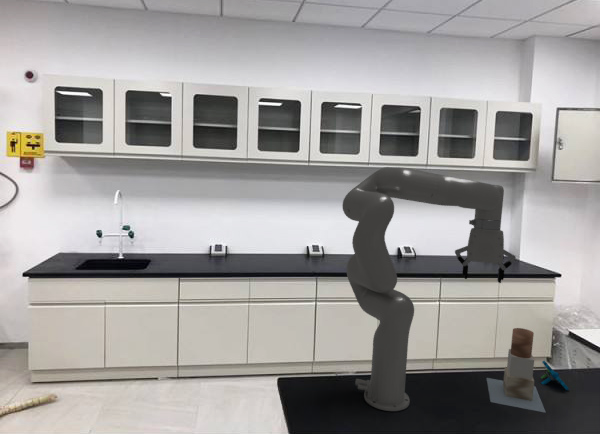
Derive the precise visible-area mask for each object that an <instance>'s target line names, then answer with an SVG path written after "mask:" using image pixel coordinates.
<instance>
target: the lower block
mask: <svg viewBox="0 0 600 434" xmlns="http://www.w3.org/2000/svg"><path fill="white" fill-rule="evenodd" d="M502 381H503V387H504V391H505V395H506V396H508V397H513V398H519V399H524V400H529V401H532V399H533V390H534V386H535V379H534V376H533V377H532V380H529V379H523V378H517V377H511V376H509V373H508V370H507V366H505V367H504V372H503V380H502Z"/></svg>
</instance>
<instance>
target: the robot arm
mask: <svg viewBox="0 0 600 434" xmlns="http://www.w3.org/2000/svg"><path fill="white" fill-rule="evenodd" d="M504 191H505V189H504V187H503V186H502V185H500V184H491V183H486V182H482V181H475V180H470V179H464V178H458V177H456V176H455V177H454V176H449V175H445V174H438V173H433V172H428V171H423V170H420V169H413V168H409V167H400V166H398V167H397V166H395V167H394V166H393V167H389V166H386V167H382V168H380V169H378V170H376V171H375V172H373V173H371V174H370V175H369V176H368V177H366V178H365V179H364V180H362V181H361V182H360V183H359V184H357V185H356V186H355V187H353V188H352V189H350V191H348V193H347V194H346V195H345V196H344V198H343V201H342V211H343V214H344V215H345V216H346V217H347V218H348V219H349V220H352V221H355V222H358V223H357V225H356V228H355V230H354V232H353V235H352V243H351V244H352V249H353V251H354V254H353V255H351V257H349V259H348V261H347V264H346V276H347V280H348V282H349V285H350V287H351V289H352V291H353V292H352V293H353V294H354V297H355V299H356V300H357V304H358V306H359V307H360V308H361V310H362V311H363V312H364V313H366V314H367V315H369V316H370V317H373V318H375V319H376V320H378V321H379V322H378V323H379V324H378V326H377V328H376V329H375V330H374V331H375V332H374V335H373V338H372V339H373V340H372V355H371V356H372V358H371V372H370V373H371V374H370V379H366V380H364V379H361V378H355V384H354V385H355V386H356V387H357V390H360V391H364V394H363V398H364V400H365V402H366V403H367V404H368V405H369V406H371V407H373V408H375V409H378V410H382V411H385V412H400V411H403V410H405V409H407V408H408V407H409V406H410V400H411V399H410V397H409V395H408V394H407V393H406V392H405V391H406V390H405V389H406V378H407V363H408V361H407V360H408V350H409V349H408V348H409V337H410V330H411V326H412V323H413V318H414V316H415V306H414V303H413V301H412V299H410V297H409V296H408V295H406V294H405V293H403V292H401V291H399V290H397V289H395V288H396V286H397V283H398V274H397V271H396V268H395V265H394V263H393V260H392V258H391V255H390V253H389V250H388V248H387V244H386V238H385V236H386V232H387V229H388V226H389V224H390V223H391V221H392V219H393V216H394V213H395V203H394V201H393V199H398V200H405V201H411V202H417V203H423V204H430V205H436V206H444V207H447V206H449V207H458V208H463V209H471V210H474V219H469V221H468V224H469V225H471V226H473V227H471V229H470V231H469V232H470V233H469V237H468V242H467V245H466V246H462V247H461V248H457V249H455V250H454V253H455V256H456V258H457V260H458V261H459V263H460V264H462V274H461V276H464V279H465V280H467V279H468V272H469V264H470V263H471V262H475V263H483V264H492V265H493V264H494V265H495V264H496V265H498V266H499V268H498V272H497V282H498V283H499V284H501V283H502V281H504V278H505V270H507V269H508V268H509V267H510V266H512V264H513V262H515V260H516V256H515V255H514V254H512V253H511V252H509V251H507V250H505V244H504V243H505V240H504V239H505V238H504V236H505V235H504V231H503V230H501V227H502V214H503V207H504V205H503V204H504V195H505V192H504ZM464 252H466V257H465V259H464V258H463V257H462V255H461V254H462V253H464ZM504 256H506V257H507V258H508V260H507V261H505V262H503V260H504Z"/></svg>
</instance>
